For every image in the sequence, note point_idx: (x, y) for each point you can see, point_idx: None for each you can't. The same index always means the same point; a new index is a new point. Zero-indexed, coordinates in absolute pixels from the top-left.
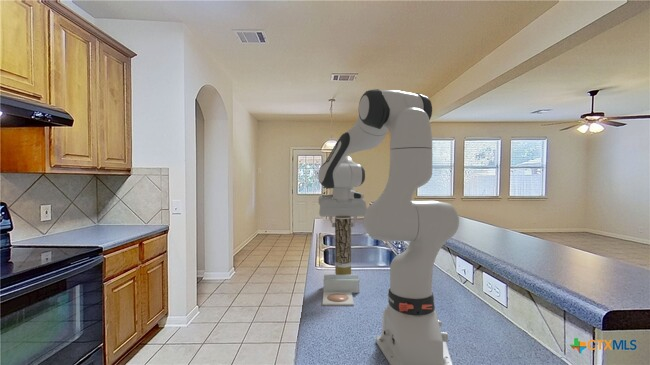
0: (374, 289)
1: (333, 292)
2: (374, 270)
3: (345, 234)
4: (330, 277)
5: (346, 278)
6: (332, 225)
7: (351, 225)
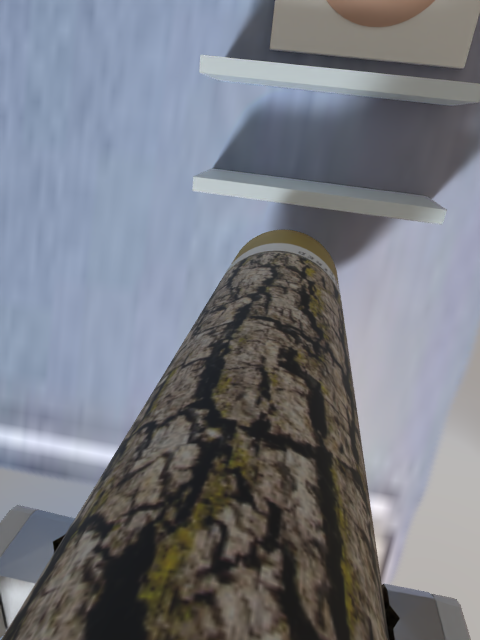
0: (121, 123)
1: (395, 54)
2: (89, 421)
3: (219, 379)
4: (393, 200)
5: (278, 184)
6: (451, 625)
7: (55, 537)
